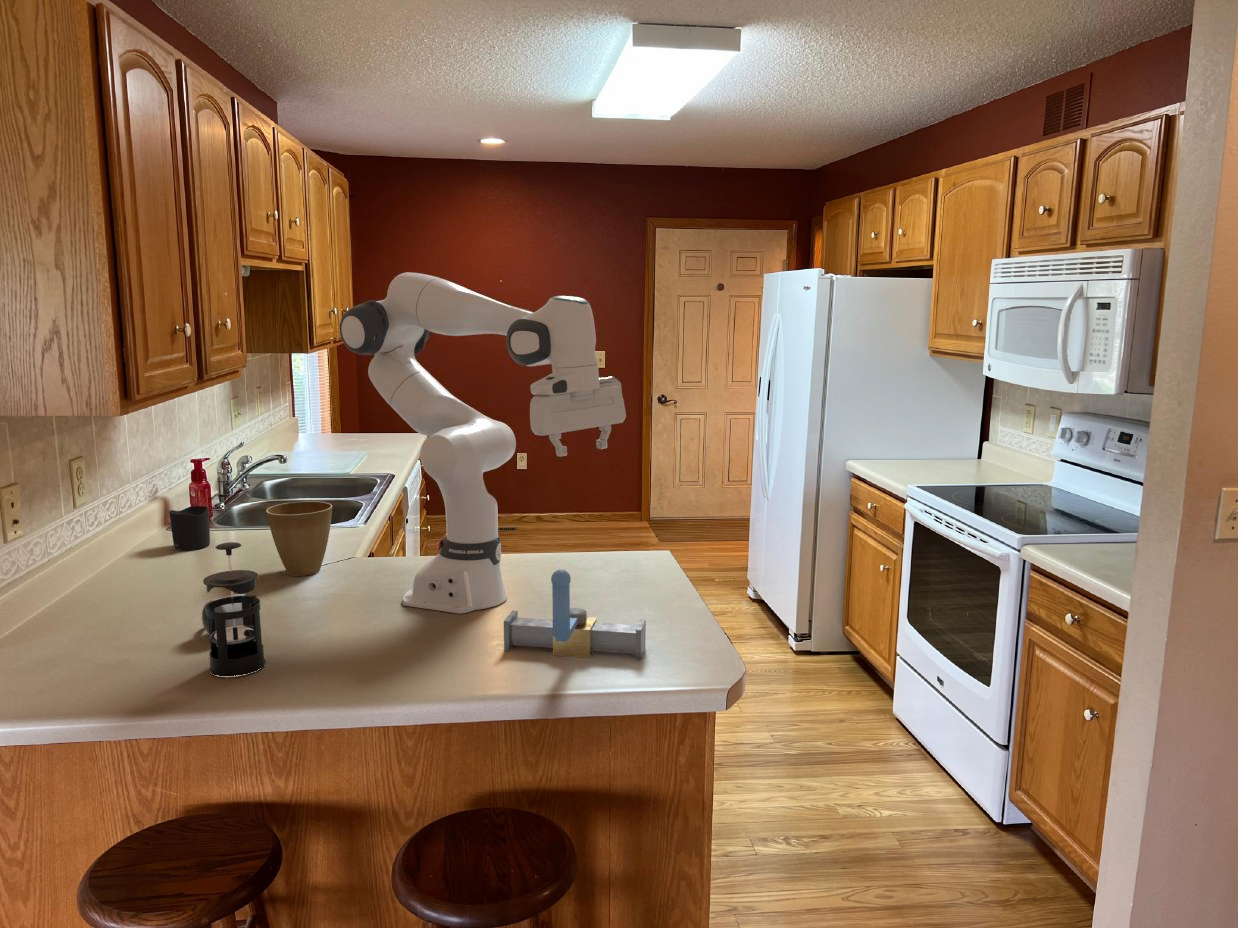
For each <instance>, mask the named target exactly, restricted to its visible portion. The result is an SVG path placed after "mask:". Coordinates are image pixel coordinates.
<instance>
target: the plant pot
mask: <svg viewBox="0 0 1238 928" xmlns="http://www.w3.org/2000/svg"><path fill="white" fill-rule="evenodd" d="M265 513H266V517H267V520H268V525H269V528H270V529H269V530H270V533H271V536H272V539H273V543H274V546H275V548H276V551H277V553H278V556H279V558H280V560H281V562H282V564H283V567H284V569H285V571H286V574H288V575H289V576H293V577H306V576H312V575H315V574H317V573H319V572H320V571H321V568H322V565H323V561H324V559H325V555H326V551H327V546H328V543H329V538H330V537H329V536H330V531H331V523H332V516H333V515H332V514H333V505H332V504H331V502H325V501H316V500H315V501H314V500H311V501H310V500H309V501H304V500H303V501H292V502H285V503H280V504H275V505H272V506H270V507H268V508H267V509H265Z"/></svg>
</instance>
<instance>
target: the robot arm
mask: <svg viewBox="0 0 1238 928" xmlns="http://www.w3.org/2000/svg"><path fill="white" fill-rule="evenodd" d="M386 293H387V294H386V297H385V298H384V299H380V300H375V299H371V300H368V301H366V302H365V301H364V302H362V303H360V304H357V305H355V306H353V307H351V308H349V309H348V310H346V311H345V312H344V313H343V314H342V316H341V318H340V322H339V334H340V337H341V340H342V342H343V344H344V345H345V347H346V348H347V349H348V350H349V351H350V352H352V353H354V354H357V355H360V356H361V355H363V356H373V355H374V357H373V358H372V359H371V361H370V362H369V365H368V370H367V373H368V378H369V380H370V381H371V382H370V383H372V385H373V386H374V388H375V389H376V390H377V392H378V393H379V395H380V396H381V397H382V399H384V401H385V402H386V403H387V404H388V405H389V406H390V408H392V409H393V410H394V411H395V413H397V414H398V415H399V416H400V418H401V419H402V420H403V421H405V422H406V424H407V425H409V427H411V429H413V430H414V431H415V432H417V433H419V434H420V435H423V436H427V438H426V439H425V440H424V441H423V443H422V445H421V447H420V451H419V452H420V463H421V465H422V467H423V469H424V471H425V473H427V475H429V477H430V478H432V479H433V480H434V481H435V482H436V484H437V486H438V487H439V490H440V493H441V495H442V498H443V502H444V503H443V504H444V508H445V526H446V533H445V534H443V535H442V538H440V539H439V540H438V542H437V543H436V544H435V545H436V550H438V552H439V553H438V554H436V555H435V556H434V557H432V558H431V559H430V560H429V561H428V562H427V563H425V564H424V565H423V566H422V567H420V568H419V569H418V570H417V572H416V574H415V575H414V578H413V584H412V587H411V588H410V589H409V590H407V591H406V592H405V593H404V594H403V597H402V604H403V606H405V607H406V606H407V607H411V608H412V607H413V608H420V609H427V610H434V611H440V612H447V613H453V614H466V613H470V612H473V611H476V610H477V611H478V610H483V609H489V608H493V607H496V606H499V605H501V604H503V603H504V602H505V601H506V600H507V599H508V595H507V592H506V589H505V586H504V582H503V577H502V572H501V571H502V569H501V564H500V563H501V561H502V560H501V557H502V544H501V536H500V535H499V519H498V518H499V515H498V514H499V513H498V502H497V500H496V498H495V497H494V496H493V495H492V494H490V493H489V492H488V490H487V488H486V485H485V481H484V476H483V475H484V473H485V472H489V471H491V470H496V469H497V468H499V467H501V466H502V465H504V464H505V463H507V462H508V461H509V460H510V459H512V457H513V455H514V454H515V452H516V447H517V441H516V436H515V433H514V431H513V430H512V428H511V427H510V426H508V424H506V423H504V422H502V421H498V420H495V419H494V418H493V419H492V418H491V417H489V416H486V415H484V414H483V413H482V412H480V411H478V410H477V409H475V408H473V407H472V406H469V405H468V404H466V403H464V402H463V401H462V400H460V399H459V398H457V397H456V396H454V395H453V394H452V393H450V391H448V389H446V387H444V386H443V385H442V384H441V383H440V382H439V380H437V379H436V378H435V377H433V375H431V373H430V372H429V371H428V370H426V369H425V368H424V367H423V366H422V365H421V364H420V362H418V361H417V359H416V356H415V355H417V354H419V353H421V352H423V350H424V349H425V345H426V342H427V341H428V340H429V338H430V336H431V333H434V334H438V335H439V334H440V335H443V336H453V337H462V336H472V335H474V336H475V335H484V334H485V335H491V334H493V335H501V336H506V338H505V345H506V349H507V353H508V354H509V356H510V357H511V358H512V360H513V361H514V362H515V363H516V364H518V365H521V366H525V367H536V366H546V365H551V369H552V373H550V374H548V375H546V376H545V377H543V378H541V379H538V380H536V381H535V382H533V383H531V384H530V386H529V387H530V388H529V389H530V393H531V394H532V395H534V396H533V397H532V398H531V400H530V402H529V403H530V404H529V421H530V423H529V424H530V430H531V431H532V433H533V434H534V435H535V436H541V437H542V436H548V437H549V441H550V442H551V444H552V445H553V446H554V448H555V454H556V457H560V458H561V457H566V456H567V455H568V446H566V445H565V446H564V445H563V444H562V442H561V440H560V439H562V433H567V432H568V433H569V432H574V431H580V430H581V431H582V430H585V429H586V430H587V429H592V428H597V427H598V429H599V431H601V432H600V435H599V438H598V439H596V440H595V444H596V449H598V450H604V449H607V448H608V439H609V438H610V434H611V432H612V425H616V424H622V423H624V421H625V419H626V418H627V414H626V413H627V412H626V406H625V399H624V397H623V392H622V390H623V389H622V383H621V381H620V380H619V379H618V378H616V377H615V376H608V377H600V375H599V374H600V372H599V364H598V363H599V362H598V359H597V356H596V345H597V335H596V327H595V319H594V314H593V310H592V307H591V304H590V302H588V300H586V299H585V298H584V297H583V298H582V297H579V296H572V295H569V296H568V295H567V296H566V295H556V296H552V297H550V298H549V299H548V301H547V302H546V303H545V304H544V305H543V306H542V307H540V308H538V310H536V311H535V312H533V311H530V310H528V309H524V308H520V307H517V306H514V305H510V304H507V303H503V302H500V301H497V300H496V299H493V298H491V297H488V296H485V295H483V294H480V293H477V292H476V291H473V290H471V289H468V288H467V287H464V286H461V285H459V284H457V283H454V282H452V281H449V280H447V279H444V278H441V277H438V276H434V275H429V274H426V273H425V274H424V273H419V272H409V271H407V272H403V273H400V274H398V275H396V276H395V277H394V278H392V280H391V281H390V284H389V285H388V288H387V292H386Z"/></svg>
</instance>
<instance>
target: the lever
mask: <svg viewBox="0 0 1238 928" xmlns="http://www.w3.org/2000/svg"><path fill="white" fill-rule="evenodd" d="M571 579H572V578H571V575H570V573H569V572H568V571H566V570H565V569H557V570H555V571H554V572H553V573H552V574H551V578H550V581H551V585H552V586H551V590H552V620H553V636H554V637H556V641H563V642H567V641H568V639H569V638H570V636H571V634H572V633H573V631H574V629H575V628H576V626H577V625H581V624H584V623H586V622H587V617H588V615H587V610H586V608H585V609H584V608H581V607H571V606H570V605H571V604H570V603H571V602H570V601H571V600H570V599H571V598H570V597H571V594H570V589H571V588H570V586H571V585H570V584H571V581H572V580H571Z"/></svg>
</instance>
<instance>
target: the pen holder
mask: <svg viewBox="0 0 1238 928" xmlns="http://www.w3.org/2000/svg"><path fill="white" fill-rule="evenodd" d="M168 513H169V522H170V528H171V534H172V536H171V537H172V543H173V548H174V549H176V550H177V551H181V552H182V551H185V552H186V551H197V550H202V549H204V548H207V547H209V546H210V544H211V535H210V534H211V531H210V510H209V507H208V506H205V505H191V506H188V507H185V508H184V509H181V510H180V509H179V510H174V509H171V510H169V511H168Z"/></svg>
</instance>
